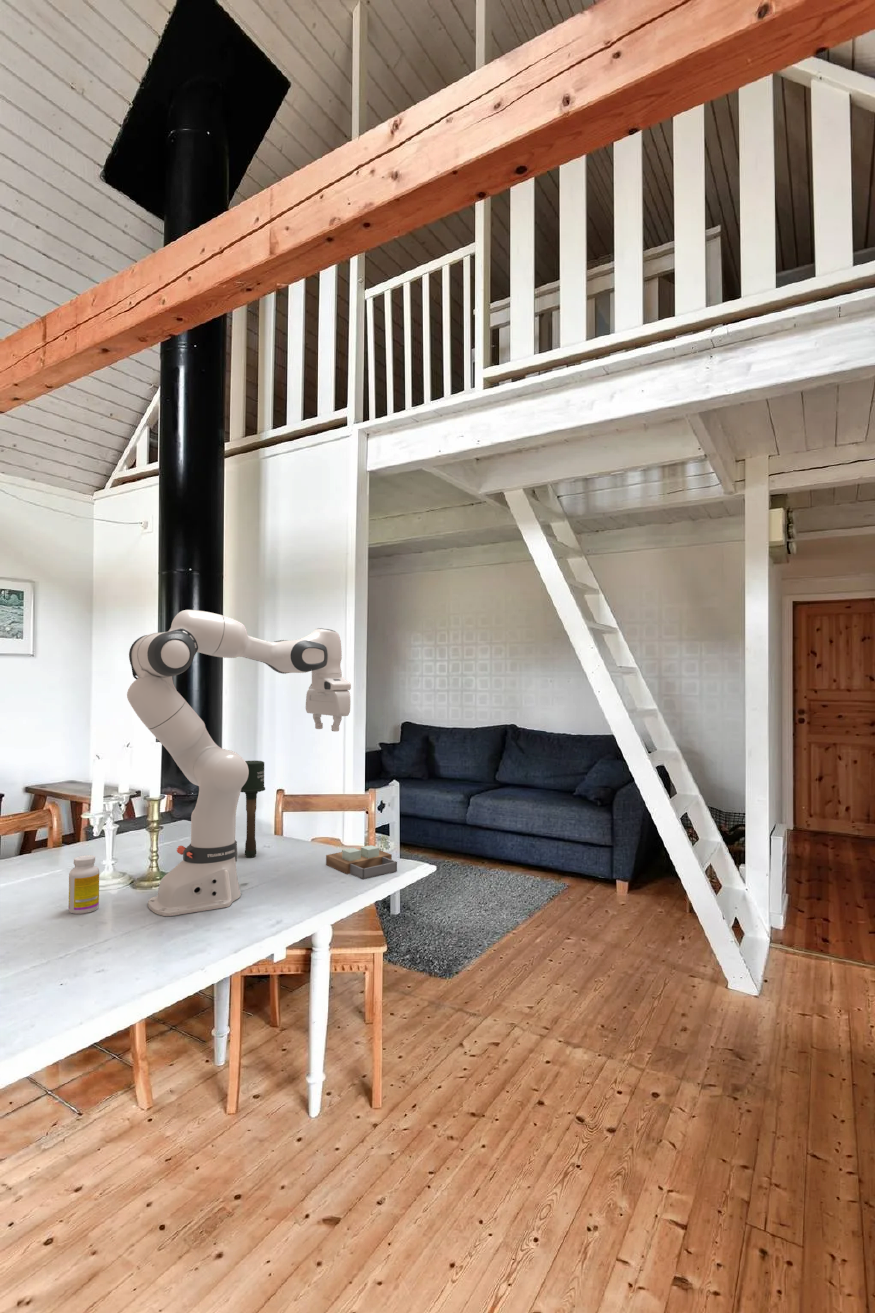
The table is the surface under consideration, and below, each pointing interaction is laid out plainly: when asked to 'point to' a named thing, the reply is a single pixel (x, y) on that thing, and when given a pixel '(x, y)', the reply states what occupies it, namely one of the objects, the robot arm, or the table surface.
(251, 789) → the potato masher grenade
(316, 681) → the robot arm
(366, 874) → the tray
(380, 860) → the board
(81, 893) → the supplement bottle
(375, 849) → the tile
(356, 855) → the tile
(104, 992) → the table surface
